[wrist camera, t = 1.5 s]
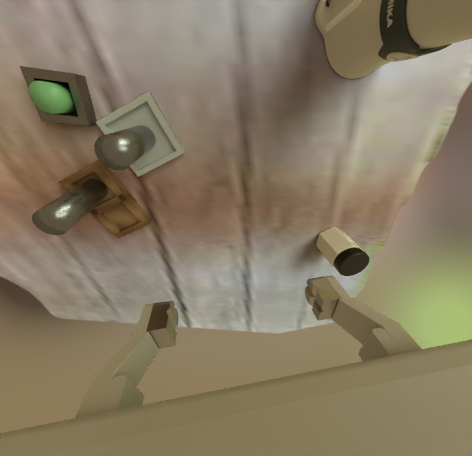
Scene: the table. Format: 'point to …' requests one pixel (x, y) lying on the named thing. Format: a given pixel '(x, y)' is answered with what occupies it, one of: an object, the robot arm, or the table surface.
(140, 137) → the cylinder
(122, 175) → the table surface
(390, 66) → the table surface
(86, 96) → the switch box
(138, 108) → the square tray
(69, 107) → the button
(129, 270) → the table surface
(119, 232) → the tray
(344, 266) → the jar
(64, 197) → the cylinder
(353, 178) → the table surface
